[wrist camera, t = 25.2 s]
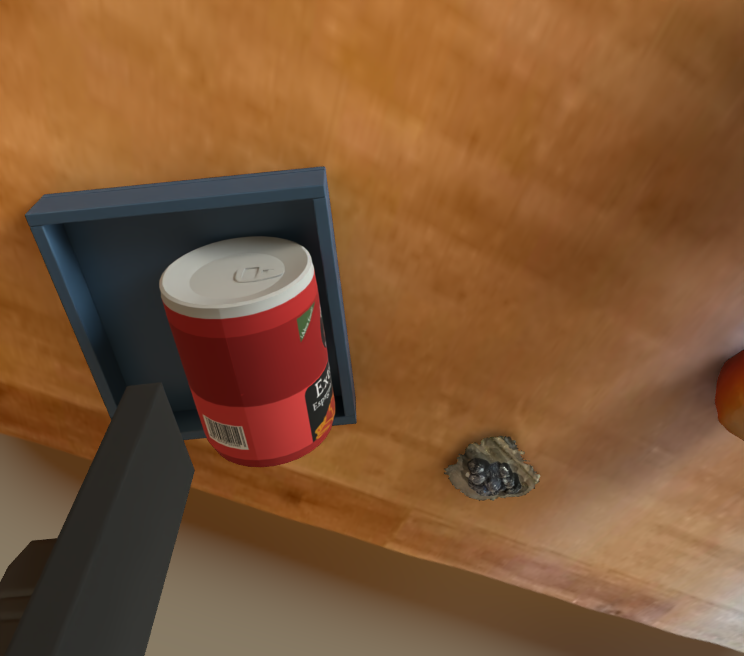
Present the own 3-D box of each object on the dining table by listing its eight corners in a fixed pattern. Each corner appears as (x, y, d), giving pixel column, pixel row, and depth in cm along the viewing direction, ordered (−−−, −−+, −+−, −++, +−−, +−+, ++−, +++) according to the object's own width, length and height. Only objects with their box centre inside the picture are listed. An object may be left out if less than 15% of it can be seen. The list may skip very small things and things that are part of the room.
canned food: (348, 453, 37) (323, 288, 31) (208, 486, 36) (152, 321, 30) (326, 374, 43) (302, 224, 37) (206, 399, 42) (160, 249, 36)
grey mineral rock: (483, 418, 46) (489, 437, 44) (565, 460, 48) (573, 479, 47) (427, 476, 49) (430, 495, 47) (507, 511, 52) (512, 531, 50)
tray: (355, 396, 44) (356, 423, 42) (132, 418, 44) (121, 446, 42) (325, 165, 35) (324, 184, 33) (43, 194, 35) (23, 214, 33)
